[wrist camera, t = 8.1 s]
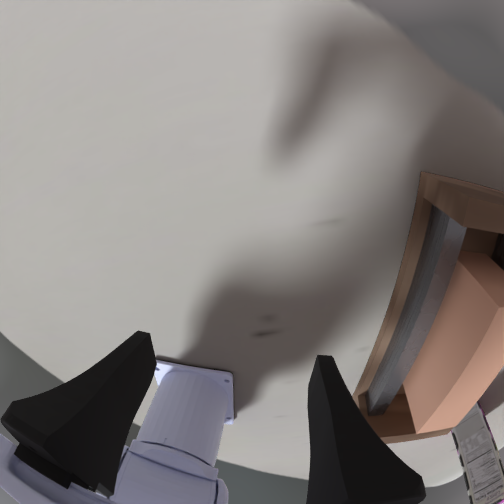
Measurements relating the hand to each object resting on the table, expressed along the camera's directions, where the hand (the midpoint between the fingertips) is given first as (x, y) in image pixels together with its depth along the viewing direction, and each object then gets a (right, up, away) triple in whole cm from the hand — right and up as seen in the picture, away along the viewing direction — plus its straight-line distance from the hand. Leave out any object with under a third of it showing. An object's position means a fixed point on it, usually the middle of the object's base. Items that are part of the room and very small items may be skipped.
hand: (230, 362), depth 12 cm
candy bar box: (+31, -18, +15) cm, 39 cm away
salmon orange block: (+16, -1, +8) cm, 18 cm away
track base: (+16, 0, +9) cm, 18 cm away
